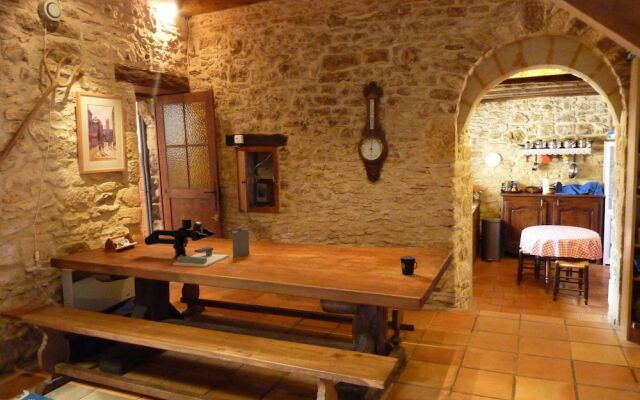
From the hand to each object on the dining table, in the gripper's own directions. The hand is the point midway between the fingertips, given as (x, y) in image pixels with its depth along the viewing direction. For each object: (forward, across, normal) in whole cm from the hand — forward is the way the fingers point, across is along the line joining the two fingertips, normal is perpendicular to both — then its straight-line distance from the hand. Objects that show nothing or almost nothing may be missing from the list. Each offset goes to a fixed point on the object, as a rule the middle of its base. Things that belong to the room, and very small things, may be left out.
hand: (211, 234), depth 334 cm
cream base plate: (-3, -8, +17) cm, 19 cm away
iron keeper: (-6, 0, +15) cm, 17 cm away
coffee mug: (+136, -11, +17) cm, 137 cm away
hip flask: (+15, +14, +17) cm, 26 cm away
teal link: (-4, -18, +15) cm, 24 cm away
